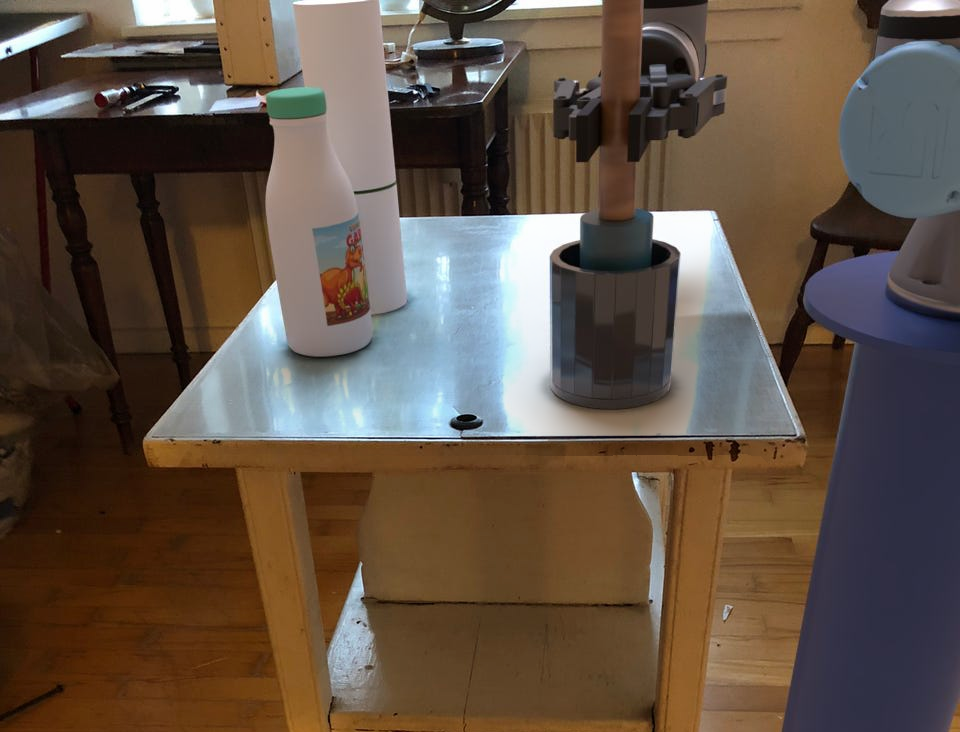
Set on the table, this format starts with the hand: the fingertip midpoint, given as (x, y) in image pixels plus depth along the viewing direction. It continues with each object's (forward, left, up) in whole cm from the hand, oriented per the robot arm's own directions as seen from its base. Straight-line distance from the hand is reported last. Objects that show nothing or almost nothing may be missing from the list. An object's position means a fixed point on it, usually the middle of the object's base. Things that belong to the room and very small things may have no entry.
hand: (607, 138), depth 62 cm
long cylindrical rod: (0, -5, -13) cm, 14 cm away
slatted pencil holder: (0, -5, -19) cm, 19 cm away
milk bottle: (+26, -11, -19) cm, 34 cm away
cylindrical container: (+26, -22, -19) cm, 39 cm away
